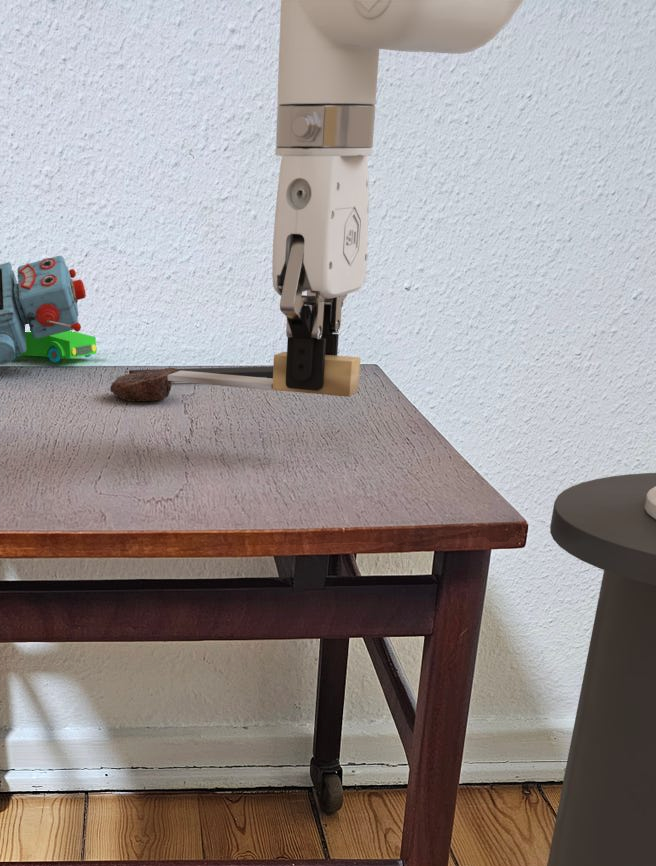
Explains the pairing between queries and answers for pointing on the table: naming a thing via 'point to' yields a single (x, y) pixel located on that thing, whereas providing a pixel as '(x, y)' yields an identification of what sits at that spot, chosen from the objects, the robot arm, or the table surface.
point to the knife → (337, 377)
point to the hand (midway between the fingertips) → (310, 384)
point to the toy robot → (37, 303)
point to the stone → (143, 385)
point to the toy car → (60, 345)
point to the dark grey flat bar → (227, 371)
